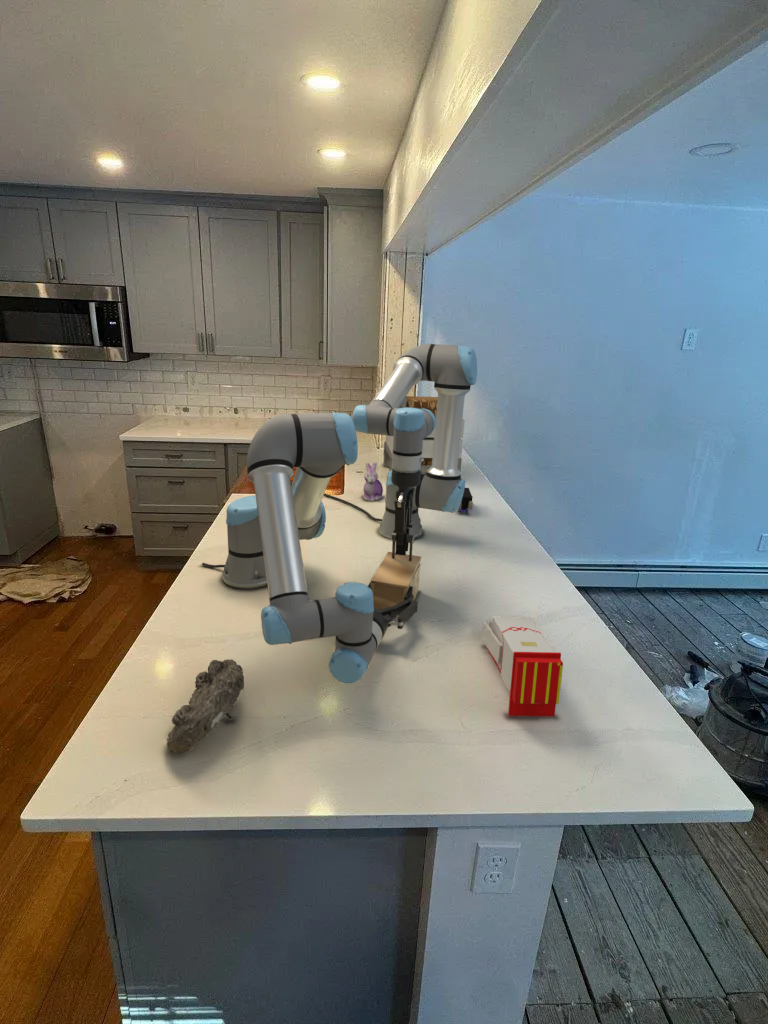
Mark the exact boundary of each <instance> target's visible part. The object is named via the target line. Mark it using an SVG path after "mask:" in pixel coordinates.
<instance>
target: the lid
mask: <svg viewBox="0 0 768 1024" xmlns="http://www.w3.org/2000/svg"><path fill="white" fill-rule="evenodd" d="M391 541H392V544H391V545H392V546H391V551H387V553H386V554H385V557H384V558H383V560H382V561H381V563H380V565H379V566H378V567H377V569H376V571H375V573H374V574H373V576H372V578H371V579H370V582H371V583H375V584H381V585H387V586H393V587H399V588H405V589H407V588H408V586H409V584H410V582H411V580H412V578H413V575H414V573H415V571H416V569H417V567H418V565H419V563H420V564H421V561H422V556H421V555H415V554H413V547H414V541H415V539H414V535H408V534H407V543H409V549H408V554H407V553H406V555H405V556H403V555H397V554H395V552H396V533H394V532H393V533H392V539H391Z"/></svg>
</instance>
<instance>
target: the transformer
mask: <svg viewBox="0 0 768 1024" xmlns="http://www.w3.org/2000/svg"><path fill="white" fill-rule="evenodd" d="M437 401H438V396H415V395H414V396H413V395H412V396H411V395H407V396H406V397H405V399H404V400H403V402H402V403H401V405H400V407H399V408H417V409H427V410H429V411H431V412H432V413H433V414H434V416H435V419H436V413H437ZM399 408H398V409H399ZM464 429H465V419H464V418H462V427H461V437H460V446H459V456H458V466H457V468H458V470H459V471H460V472H461V473H462V461H463V460H462V453H463V442H464V441H463V440H462V439H463V438H464V431H465V430H464ZM434 435H435V429H434V430H433V431H432V433H431V434H430V435H429V436H428V437H426V438H424V439H423V445H422V456H421V458H423V459H424V461H423V462H421V467H431V466H432V457H433V446H434ZM392 455H393V436H388V435H385V438H384V442H383V466H384V467H388V468H389V472H390V471H391V470H393V469H394V468H393V467H392Z"/></svg>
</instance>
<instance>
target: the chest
mask: <svg viewBox="0 0 768 1024" xmlns="http://www.w3.org/2000/svg"><path fill="white" fill-rule="evenodd" d="M420 575H421V562H420V563H419V565H418V567H417V569H416V571H415V573H414V575H413V578H412V580H411V582H410V584H409V586H408V588H407V589H405V588H399V587H393V586H387V585H381V584H375V583H371V590H372V592H373V607H374V608H378V609H384V608H386V607H392V606H394V605H396V604H398V603H400V602H402V601H404V597H405V595H406V593H407V591H408V589H409V587H410V586H412V587H413V592H412V595H414V601H415V600H416V598H417V595H418V593H419V591H420V589H419V588H420ZM414 601H413V602H414ZM395 618H396V617H395ZM395 618H394V619H395Z"/></svg>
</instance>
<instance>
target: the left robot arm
mask: <svg viewBox="0 0 768 1024" xmlns="http://www.w3.org/2000/svg"><path fill="white" fill-rule="evenodd" d="M358 450H359V447H358V437H357V431H356V430H355V426H354V422H353V420H352V416H351V415H350V414H348V413H345V412H335V411H333V412H319V413H318V412H313V413H311V412H310V413H281V414H278V415H275V416H273V417H271V418H269V419H268V420H266V421H265V422H264V423H263V424H262V425H261V426H260V427H259V428H258V430H257V431H256V433H254V435H253V438H252V440H251V442H250V444H249V446H248V451H247V455H246V473H247V480H248V481H249V482H251V483H252V484H253V487H254V494H255V495H249V496H248V495H247V496H243V497H240V498H237V499H235V500H234V501H231V502H230V503H229V504H228V505H227V508H226V519H225V523H226V530H227V552H228V554H227V557H226V560H225V564H209V563H207V562H206V563H205V562H202V563H201V566H203V567H207V568H212V569H213V568H214V569H219V568H223V570H222V571H223V572H222V580H223V581H224V583H225V584H226V585H228V586H230V587H232V588H235V589H241V590H242V589H243V590H251V589H252V590H253V589H258V588H263V587H267V592H268V598H269V599H268V600H269V605H268V606H264V607H263V608H262V609H261V612H260V621H261V631H262V632H261V633H262V636H263V640H264V642H265V643H266V644H267V645H269V646H275V645H285V644H289V645H291V644H293V643H297V642H303V641H310V640H316V639H322V638H323V639H324V638H327V637H328V638H329V637H335V647H334V651H333V652H332V653H331V655H330V659H329V662H328V669H329V673H330V674H331V676H332V677H333V678H334V679H335V680H337V681H338V682H340V683H342V684H351V685H352V684H355V683H357V682H359V681H360V680H361V679H362V678H363V676H364V675H365V673H366V672H367V671H368V669H369V666H370V664H371V662H372V660H373V658H374V656H375V654H376V653H377V650H378V648H379V646H380V644H381V642H382V641H383V638H384V636H385V634H386V632H387V630H388V628H389V627H391V626H397V629H398V630H402V629H403V628H404V625H405V624H406V623H407V622H408V621H409V620H410V619H411V618H412V617H414V615H416V613H417V612H418V605H419V604H418V601H415V600H414V595H412V592H413V587H412V586H410V587H409V589H408V591H407V593H406V595H405V597H404V601H402V602H400V603H398V604H396V605H394V606H392V607H386V608H384V609H378V608H374V607H373V592H372V590H371V581H369V583H368V585H366V584H364V583H361V582H357V581H350V582H345V583H343V584H340V585H339V586H338V587H337V588H336V591H335V596H331V597H327V598H319V599H312V600H311V599H309V594H308V585H307V579H306V572H305V567H304V560H303V554H302V547H301V541H303V540H306V541H308V540H309V541H310V540H313V539H317V538H320V537H321V536H322V535H323V533H324V531H325V528H326V520H327V515H326V514H327V513H326V508H325V505H324V502H323V501H322V500H323V497H324V494H326V490H327V487H328V486H329V483H330V480H331V478H333V477H334V476H336V475H337V474H338V473H339V472H340V471H341V469H342V468H343V466H344V465H346V466H351V465H353V464H355V463H356V462H357V460H358ZM294 468H295V472H294ZM292 477H293V480H292V483H291V478H292ZM291 484H292V486H291ZM413 601H414V602H413ZM395 617H396V618H395Z"/></svg>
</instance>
